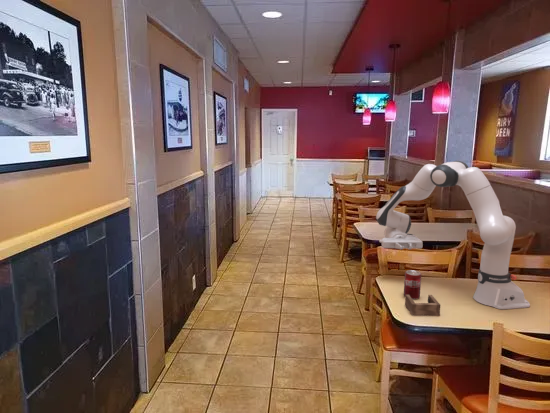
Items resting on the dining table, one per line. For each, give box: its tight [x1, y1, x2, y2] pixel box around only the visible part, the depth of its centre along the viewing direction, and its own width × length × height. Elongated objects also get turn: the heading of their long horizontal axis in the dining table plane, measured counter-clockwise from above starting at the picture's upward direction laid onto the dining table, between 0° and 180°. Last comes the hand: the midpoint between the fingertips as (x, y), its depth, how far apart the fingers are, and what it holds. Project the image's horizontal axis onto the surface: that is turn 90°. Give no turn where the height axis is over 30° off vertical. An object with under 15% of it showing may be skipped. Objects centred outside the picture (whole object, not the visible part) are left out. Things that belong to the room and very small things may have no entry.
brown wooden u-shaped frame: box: [404, 294, 441, 317], centre depth 166 cm, size 12×10×5 cm
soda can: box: [403, 269, 422, 301], centre depth 179 cm, size 7×7×12 cm
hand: (405, 247), depth 189 cm, fingers open, 3 cm apart
